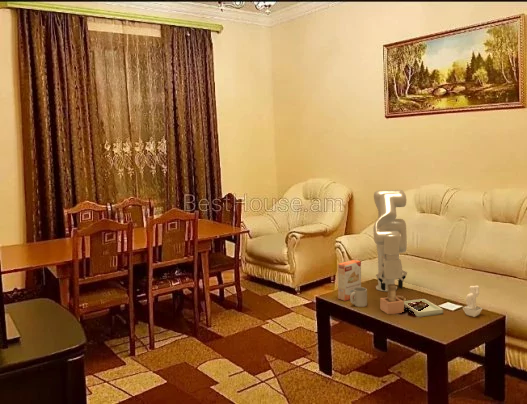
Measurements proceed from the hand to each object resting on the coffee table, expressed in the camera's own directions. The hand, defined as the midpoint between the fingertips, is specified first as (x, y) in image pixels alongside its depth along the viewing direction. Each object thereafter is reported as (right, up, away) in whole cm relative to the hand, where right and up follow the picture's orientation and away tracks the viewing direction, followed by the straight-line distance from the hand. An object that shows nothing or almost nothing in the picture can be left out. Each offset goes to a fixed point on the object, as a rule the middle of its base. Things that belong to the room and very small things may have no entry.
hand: (391, 289), depth 269 cm
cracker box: (-18, -10, +26) cm, 33 cm away
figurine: (+39, -12, -8) cm, 42 cm away
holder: (+1, -12, +2) cm, 12 cm away
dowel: (+1, -12, +2) cm, 12 cm away
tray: (+16, -11, +1) cm, 20 cm away
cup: (-15, -11, +13) cm, 23 cm away
